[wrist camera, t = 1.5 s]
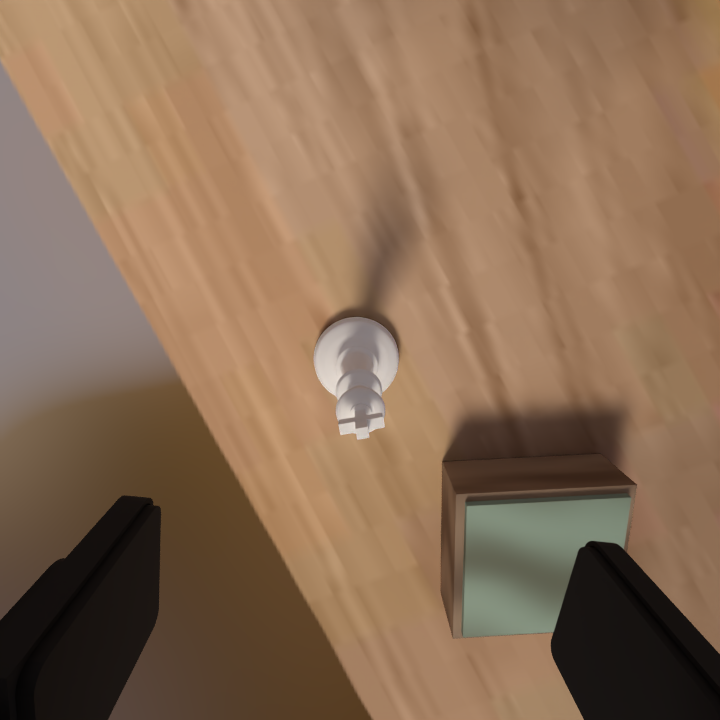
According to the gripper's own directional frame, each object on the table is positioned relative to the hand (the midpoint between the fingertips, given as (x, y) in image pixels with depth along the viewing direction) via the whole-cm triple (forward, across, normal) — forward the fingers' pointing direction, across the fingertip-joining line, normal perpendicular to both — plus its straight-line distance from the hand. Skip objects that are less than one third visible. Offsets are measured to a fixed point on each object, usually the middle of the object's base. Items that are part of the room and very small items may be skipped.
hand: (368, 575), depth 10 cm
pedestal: (+16, -12, +9) cm, 22 cm away
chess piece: (+17, 0, -1) cm, 17 cm away
